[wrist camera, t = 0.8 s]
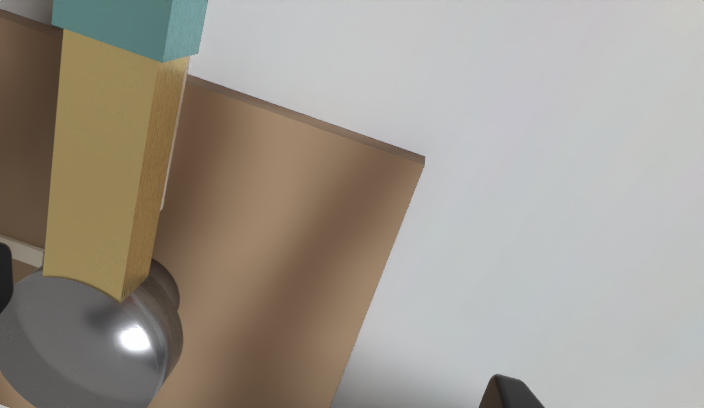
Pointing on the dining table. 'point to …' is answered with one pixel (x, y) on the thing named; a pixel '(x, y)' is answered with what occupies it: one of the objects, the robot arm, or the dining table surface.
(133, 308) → the metal scoop
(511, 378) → the robot arm
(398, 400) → the dining table surface
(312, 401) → the base
